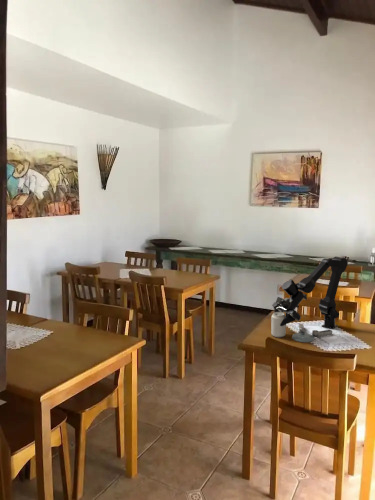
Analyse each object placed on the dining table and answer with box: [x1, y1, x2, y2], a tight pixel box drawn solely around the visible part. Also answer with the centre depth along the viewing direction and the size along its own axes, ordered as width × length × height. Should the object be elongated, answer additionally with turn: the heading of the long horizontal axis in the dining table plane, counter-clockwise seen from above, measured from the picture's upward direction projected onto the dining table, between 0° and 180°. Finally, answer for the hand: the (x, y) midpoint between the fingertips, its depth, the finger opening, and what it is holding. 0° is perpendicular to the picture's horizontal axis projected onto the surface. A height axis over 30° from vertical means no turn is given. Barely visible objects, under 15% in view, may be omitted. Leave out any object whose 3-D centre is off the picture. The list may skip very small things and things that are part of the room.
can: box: [270, 312, 287, 338], centre depth 215 cm, size 8×8×12 cm
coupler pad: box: [291, 332, 315, 343], centre depth 211 cm, size 11×11×1 cm
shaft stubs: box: [298, 323, 333, 338], centre depth 218 cm, size 10×19×3 cm, turn 48°
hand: (276, 323), depth 214 cm, fingers closed on can, 7 cm apart
